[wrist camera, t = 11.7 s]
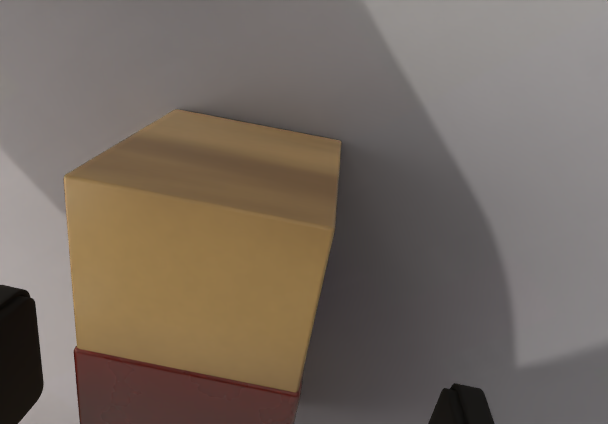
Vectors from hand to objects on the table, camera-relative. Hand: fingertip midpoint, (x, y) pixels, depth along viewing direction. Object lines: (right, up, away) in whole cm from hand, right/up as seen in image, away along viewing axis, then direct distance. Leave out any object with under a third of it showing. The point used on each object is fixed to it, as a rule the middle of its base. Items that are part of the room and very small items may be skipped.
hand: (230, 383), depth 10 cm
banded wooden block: (0, +2, +2) cm, 3 cm away
